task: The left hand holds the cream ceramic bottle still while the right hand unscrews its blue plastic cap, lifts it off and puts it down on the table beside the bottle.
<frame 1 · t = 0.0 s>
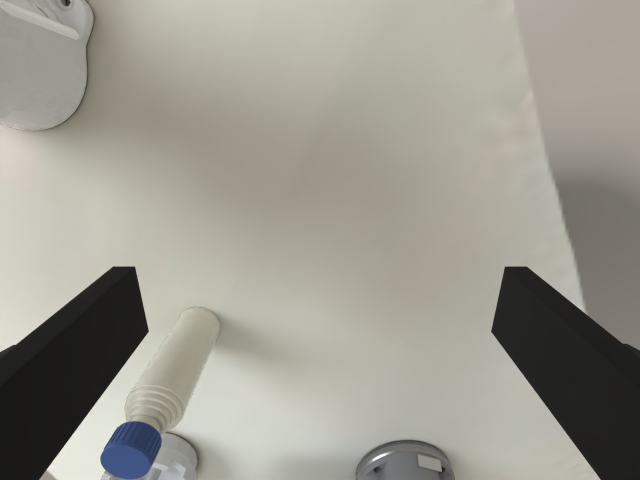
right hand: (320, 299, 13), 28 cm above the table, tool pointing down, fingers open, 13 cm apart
cap: (127, 459, 29), point 19 cm above the table, screwed on, not yet turned
bottle: (199, 325, 46), on the table
flag stand: (162, 456, 55), on the table
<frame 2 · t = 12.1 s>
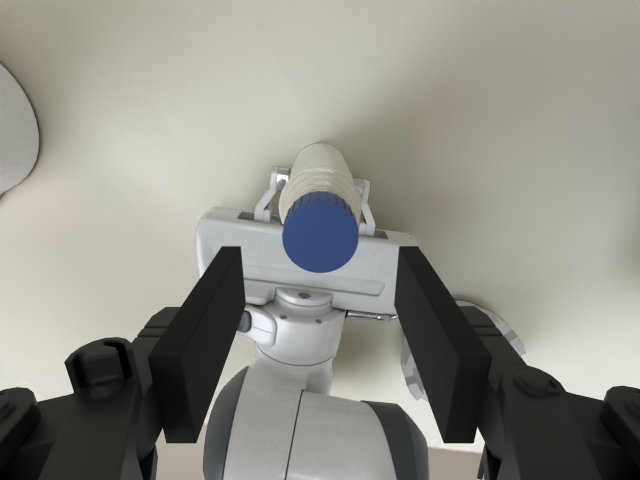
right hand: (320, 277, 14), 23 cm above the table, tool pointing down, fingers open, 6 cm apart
left hand: (321, 173, 30), fingers closed on bottle, 5 cm apart
cap: (320, 237, 19), point 19 cm above the table, screwed on, not yet turned
bottle: (320, 171, 36), on the table, touching left hand
flag stand: (448, 338, 44), on the table
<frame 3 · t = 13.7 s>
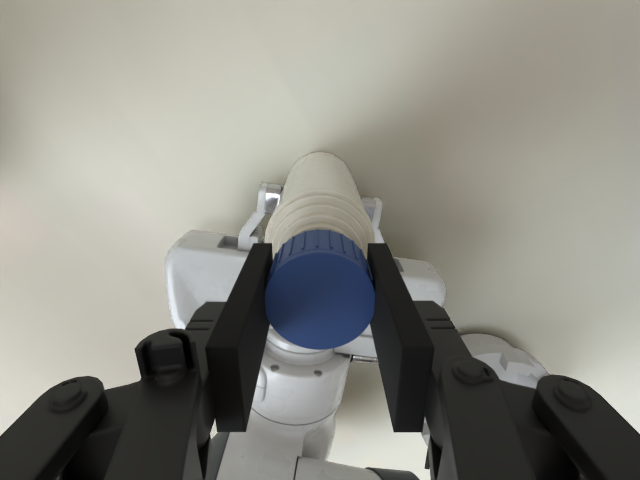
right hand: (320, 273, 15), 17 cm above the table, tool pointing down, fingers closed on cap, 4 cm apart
cap: (319, 299, 13), point 19 cm above the table, screwed on, not yet turned, touching right hand
bottle: (319, 185, 30), on the table, touching left hand
flag stand: (467, 375, 38), on the table
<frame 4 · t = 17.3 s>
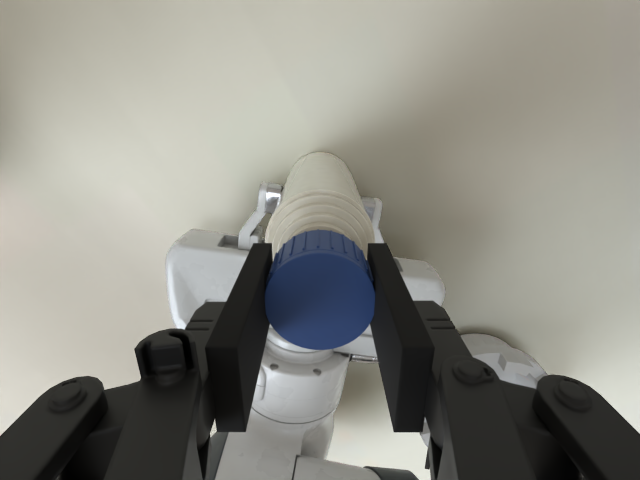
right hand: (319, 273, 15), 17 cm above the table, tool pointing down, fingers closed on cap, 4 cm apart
cap: (320, 300, 13), point 19 cm above the table, turned 115° so far, risen 0.1 cm, still on its thread, touching right hand
bottle: (320, 184, 30), on the table, touching left hand
flag stand: (466, 375, 38), on the table
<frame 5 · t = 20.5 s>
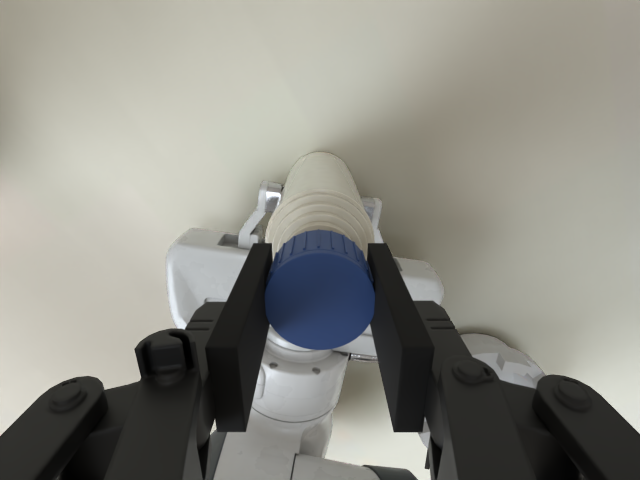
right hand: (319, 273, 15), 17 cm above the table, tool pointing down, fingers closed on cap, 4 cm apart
cap: (319, 300, 13), point 19 cm above the table, turned 229° so far, risen 0.2 cm, still on its thread, touching right hand
bottle: (319, 184, 30), on the table, touching left hand
flag stand: (464, 374, 38), on the table
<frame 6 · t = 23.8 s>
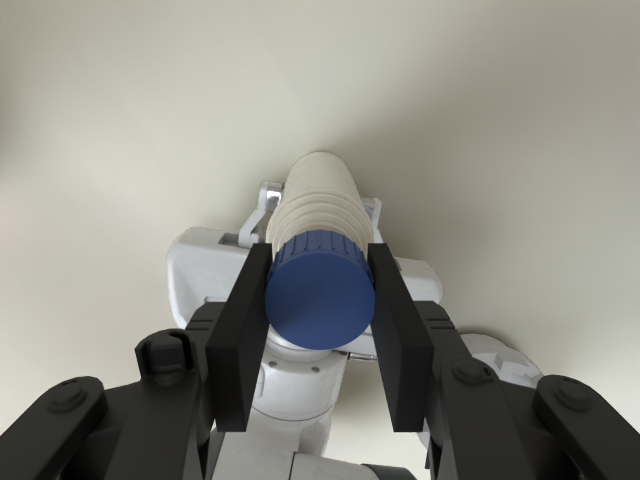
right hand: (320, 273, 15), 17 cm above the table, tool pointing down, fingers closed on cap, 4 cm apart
cap: (319, 300, 13), point 19 cm above the table, turned 344° so far, risen 0.4 cm, still on its thread, touching right hand
bottle: (320, 184, 31), on the table, touching left hand
flag stand: (463, 374, 38), on the table
when the right hand's fingers open (1 cm above the table, at t = 29.6 s): cap drops 1 cm, point 2 cm above the table.
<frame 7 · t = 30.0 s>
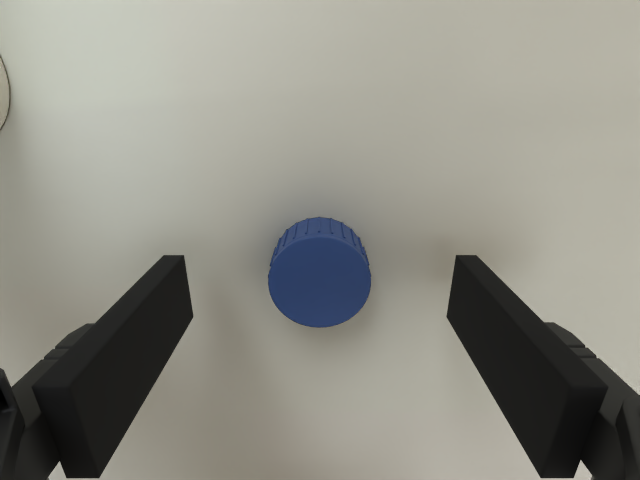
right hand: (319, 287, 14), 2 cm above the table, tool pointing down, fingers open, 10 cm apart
cap: (319, 281, 14), point 2 cm above the table, off its thread
when the left hand's fingers open (6 cm above the table, at t = 31.0 s): bottle stays where it is, on the table.
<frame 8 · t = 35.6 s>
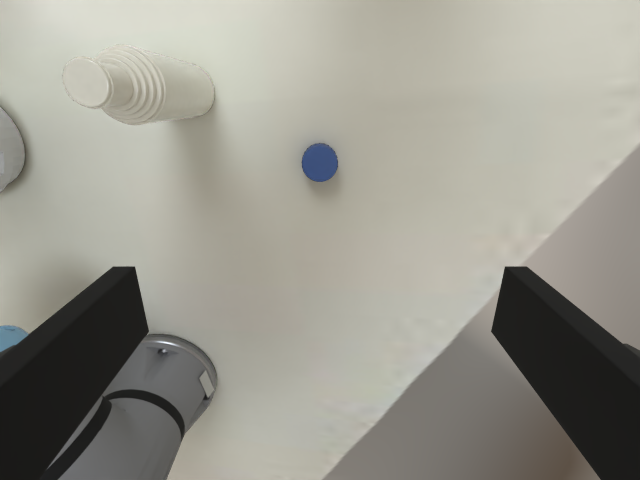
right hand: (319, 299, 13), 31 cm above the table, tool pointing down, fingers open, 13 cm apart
cap: (319, 163, 40), point 2 cm above the table, off its thread
bottle: (189, 90, 39), on the table
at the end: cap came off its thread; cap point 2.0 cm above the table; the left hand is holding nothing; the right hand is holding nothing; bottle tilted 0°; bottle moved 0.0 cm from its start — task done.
